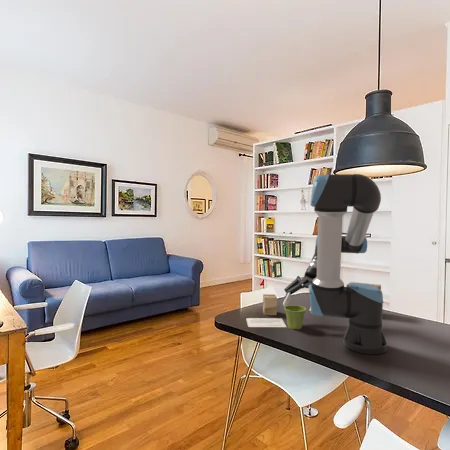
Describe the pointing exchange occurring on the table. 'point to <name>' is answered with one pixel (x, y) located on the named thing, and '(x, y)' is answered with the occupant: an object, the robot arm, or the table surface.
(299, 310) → the plant pot
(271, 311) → the oak block
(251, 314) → the table surface
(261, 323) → the letter
